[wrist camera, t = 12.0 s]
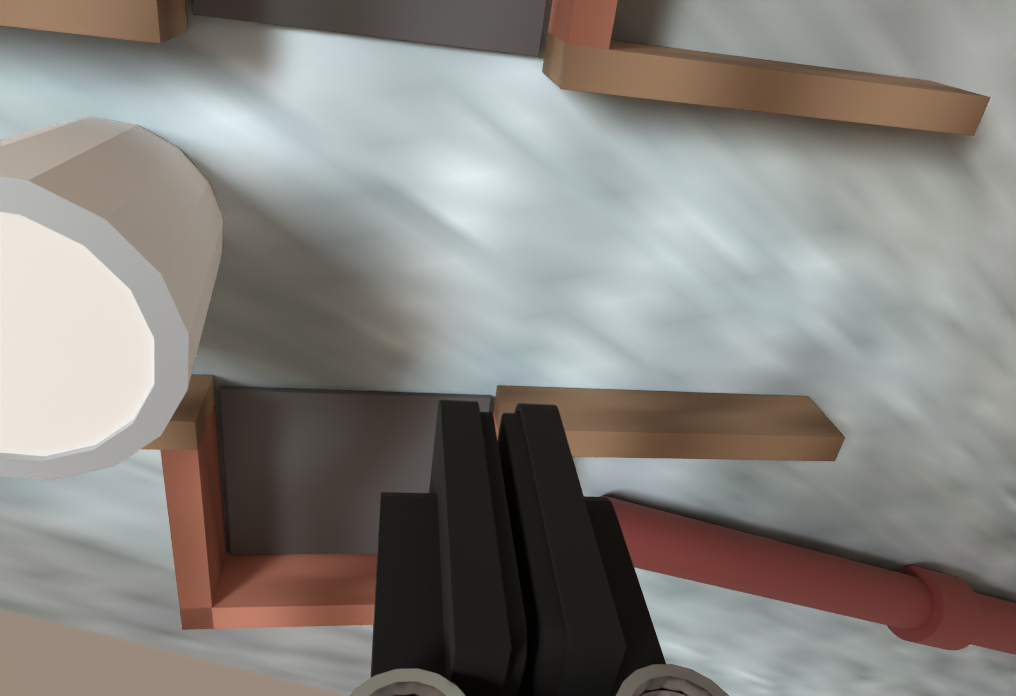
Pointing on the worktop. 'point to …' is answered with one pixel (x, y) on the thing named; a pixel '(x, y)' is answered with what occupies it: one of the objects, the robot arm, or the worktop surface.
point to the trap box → (412, 416)
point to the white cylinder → (98, 292)
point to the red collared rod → (818, 580)
